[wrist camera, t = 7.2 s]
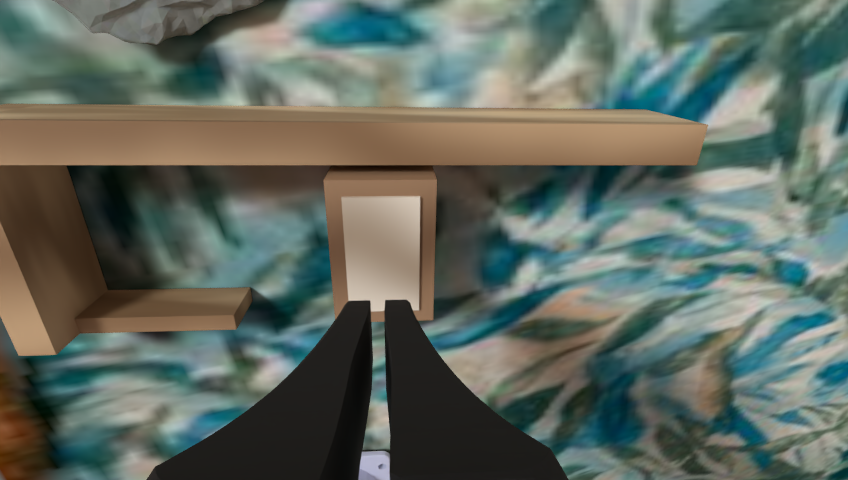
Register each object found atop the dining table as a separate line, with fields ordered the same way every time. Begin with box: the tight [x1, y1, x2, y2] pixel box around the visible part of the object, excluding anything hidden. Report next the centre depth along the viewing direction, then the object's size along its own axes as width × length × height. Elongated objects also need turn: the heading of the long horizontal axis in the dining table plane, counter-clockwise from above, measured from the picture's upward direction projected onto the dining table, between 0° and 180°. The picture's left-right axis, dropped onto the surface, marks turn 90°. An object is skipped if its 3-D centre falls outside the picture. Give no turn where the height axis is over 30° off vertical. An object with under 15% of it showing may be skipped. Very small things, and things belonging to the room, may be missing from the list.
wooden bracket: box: [0, 104, 708, 356], centre depth 19 cm, size 10×28×4 cm, turn 89°
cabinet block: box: [323, 165, 437, 322], centre depth 18 cm, size 6×4×5 cm, turn 179°
